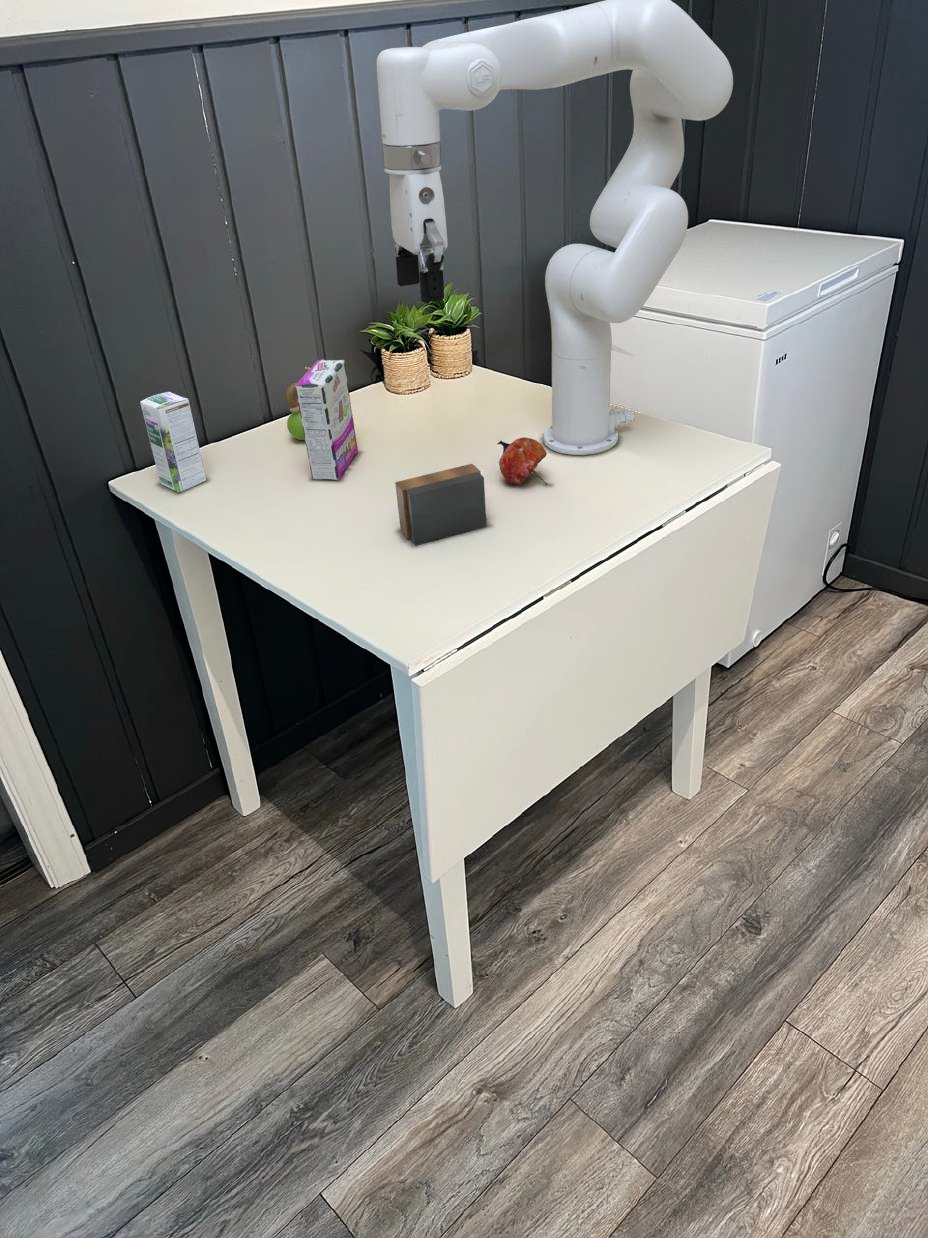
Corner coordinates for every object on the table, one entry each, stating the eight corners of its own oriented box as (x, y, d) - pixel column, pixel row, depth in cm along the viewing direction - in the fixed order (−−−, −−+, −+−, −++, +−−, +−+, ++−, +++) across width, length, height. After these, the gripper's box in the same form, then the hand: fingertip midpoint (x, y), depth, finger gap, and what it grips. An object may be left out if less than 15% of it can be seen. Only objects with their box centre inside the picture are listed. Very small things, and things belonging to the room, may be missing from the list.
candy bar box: (331, 451, 163) (317, 358, 154) (359, 452, 162) (346, 358, 153) (309, 480, 154) (293, 383, 145) (339, 481, 153) (324, 384, 144)
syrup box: (159, 484, 156) (136, 400, 148) (189, 471, 160) (169, 389, 152) (178, 493, 153) (156, 408, 145) (208, 480, 157) (189, 396, 148)
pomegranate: (549, 485, 152) (505, 441, 153) (571, 460, 146) (525, 414, 147) (523, 508, 148) (478, 463, 149) (544, 483, 142) (498, 436, 143)
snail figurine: (330, 433, 170) (320, 368, 163) (306, 447, 165) (295, 381, 158) (307, 428, 172) (296, 364, 165) (283, 441, 168) (271, 376, 161)
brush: (475, 511, 142) (472, 463, 137) (489, 526, 138) (486, 476, 134) (400, 531, 138) (394, 481, 134) (412, 546, 135) (407, 496, 130)
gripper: (464, 163, 117) (468, 303, 127) (416, 147, 131) (424, 275, 140) (407, 169, 115) (416, 311, 125) (364, 152, 129) (376, 282, 138)
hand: (420, 292), depth 133 cm, fingers open, 9 cm apart
